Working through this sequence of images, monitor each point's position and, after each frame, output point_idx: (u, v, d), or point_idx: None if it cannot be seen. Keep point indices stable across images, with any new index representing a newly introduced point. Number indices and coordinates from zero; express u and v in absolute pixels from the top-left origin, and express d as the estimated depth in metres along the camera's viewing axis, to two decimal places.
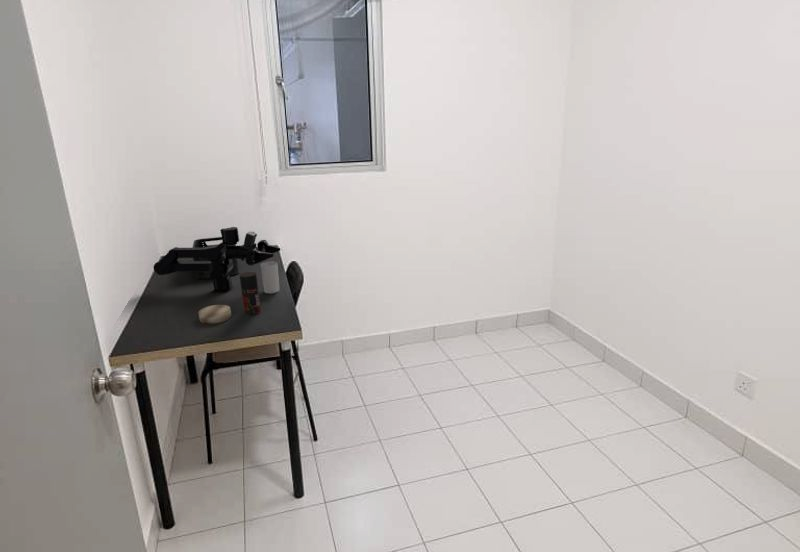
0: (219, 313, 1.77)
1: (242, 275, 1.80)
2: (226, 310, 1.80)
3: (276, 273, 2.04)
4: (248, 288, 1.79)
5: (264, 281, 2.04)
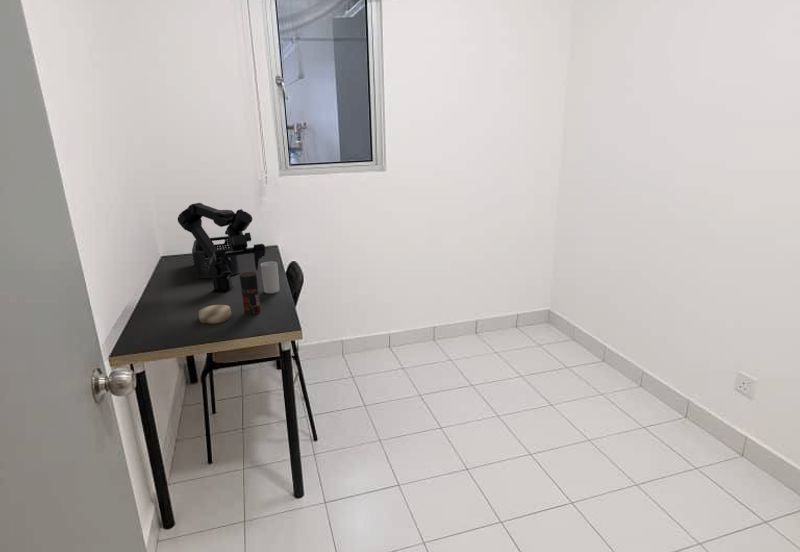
0: (219, 313, 1.77)
1: (242, 275, 1.80)
2: (226, 310, 1.80)
3: (276, 273, 2.04)
4: (248, 288, 1.79)
5: (264, 281, 2.04)
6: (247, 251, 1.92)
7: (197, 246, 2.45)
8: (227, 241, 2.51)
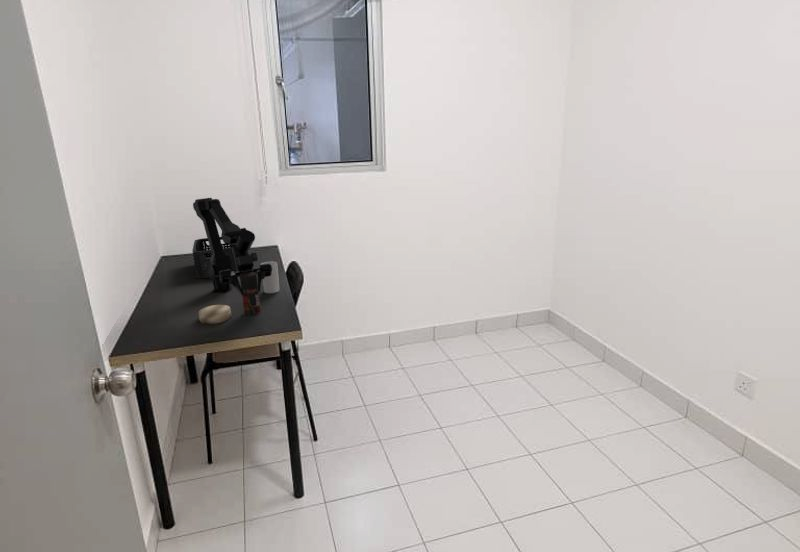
0: (219, 313, 1.77)
1: (242, 275, 1.79)
2: (226, 310, 1.80)
3: (276, 273, 2.04)
4: (248, 288, 1.79)
5: (264, 281, 2.04)
6: (253, 271, 1.86)
7: (197, 246, 2.45)
8: None
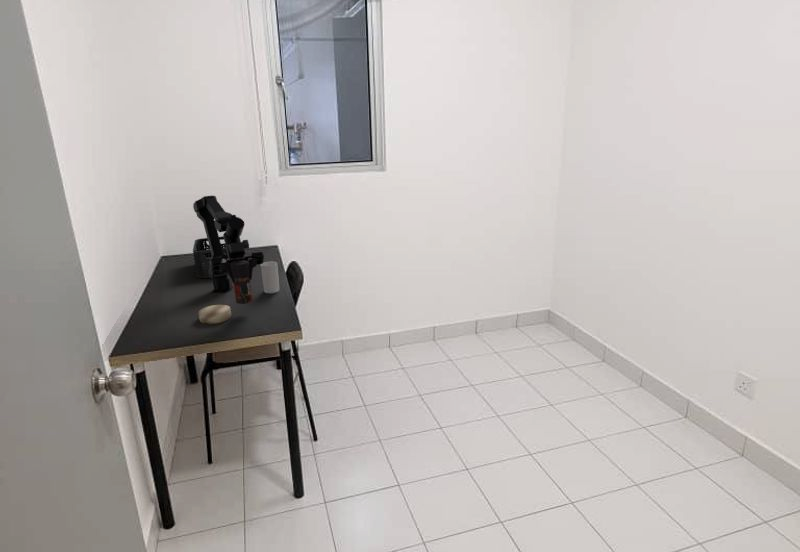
0: (219, 313, 1.77)
1: (233, 263, 1.77)
2: (226, 310, 1.80)
3: (276, 273, 2.04)
4: (240, 276, 1.77)
5: (264, 281, 2.04)
6: (245, 259, 1.83)
7: (198, 246, 2.45)
8: None
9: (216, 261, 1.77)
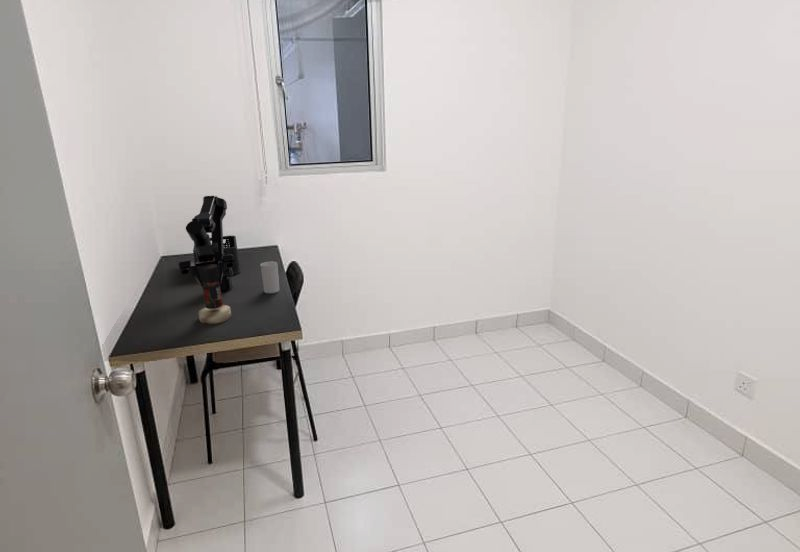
0: (219, 313, 1.77)
1: (202, 267, 1.74)
2: (226, 310, 1.80)
3: (276, 273, 2.04)
4: (208, 281, 1.74)
5: (264, 281, 2.04)
6: (214, 262, 1.80)
7: None
8: (228, 241, 2.52)
9: (184, 265, 1.73)
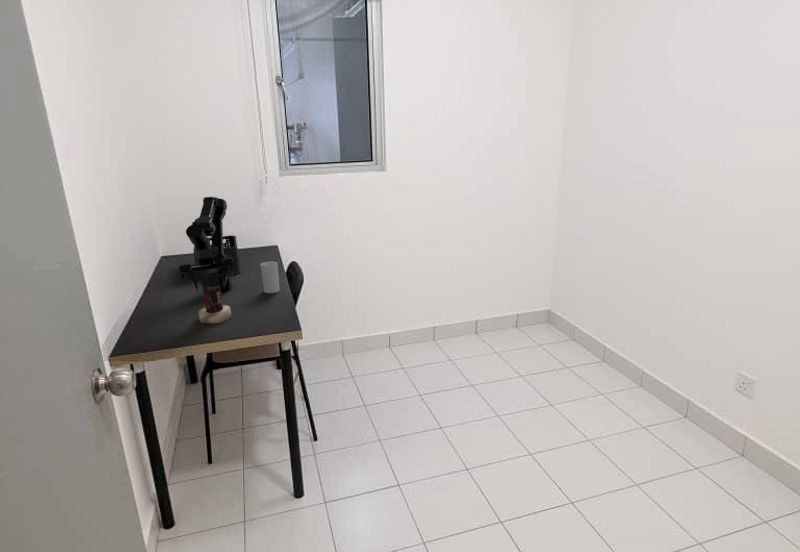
0: (219, 313, 1.77)
1: (203, 272, 1.74)
2: (226, 310, 1.80)
3: (276, 273, 2.04)
4: (209, 285, 1.74)
5: (264, 281, 2.04)
6: (215, 266, 1.80)
7: None
8: (228, 241, 2.52)
9: (184, 268, 1.73)
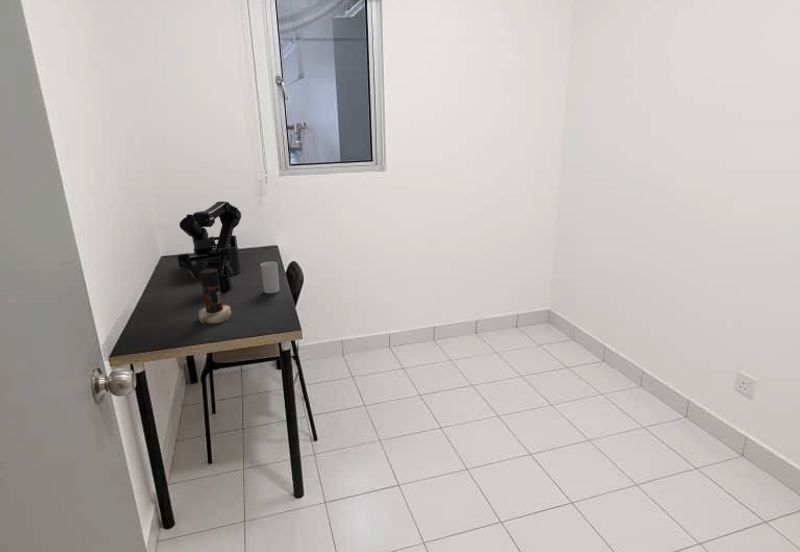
0: (219, 313, 1.77)
1: (202, 272, 1.74)
2: (226, 310, 1.80)
3: (276, 273, 2.04)
4: (209, 285, 1.74)
5: (264, 281, 2.04)
6: (212, 255, 1.88)
7: None
8: None
9: (183, 258, 1.81)
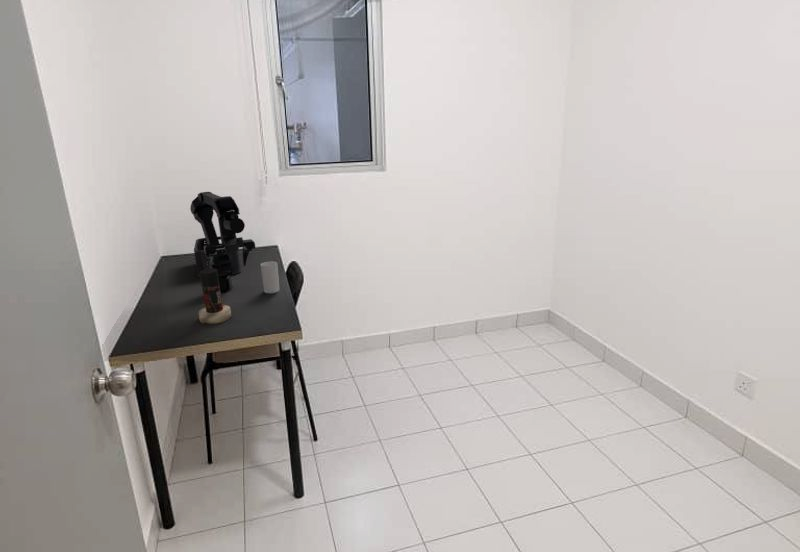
0: (219, 313, 1.77)
1: (202, 272, 1.74)
2: (226, 310, 1.80)
3: (276, 273, 2.04)
4: (209, 285, 1.74)
5: (264, 281, 2.04)
6: None
7: (199, 245, 2.46)
8: None
9: (210, 253, 1.88)
